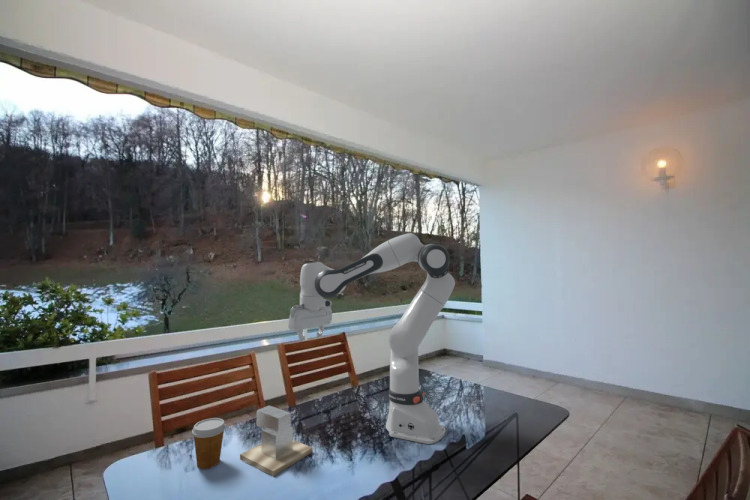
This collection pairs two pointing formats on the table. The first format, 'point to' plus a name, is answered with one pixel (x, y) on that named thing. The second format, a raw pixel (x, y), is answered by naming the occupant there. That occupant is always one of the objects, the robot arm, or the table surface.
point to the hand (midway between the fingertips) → (310, 339)
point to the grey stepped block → (275, 431)
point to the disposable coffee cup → (208, 442)
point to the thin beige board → (275, 465)
